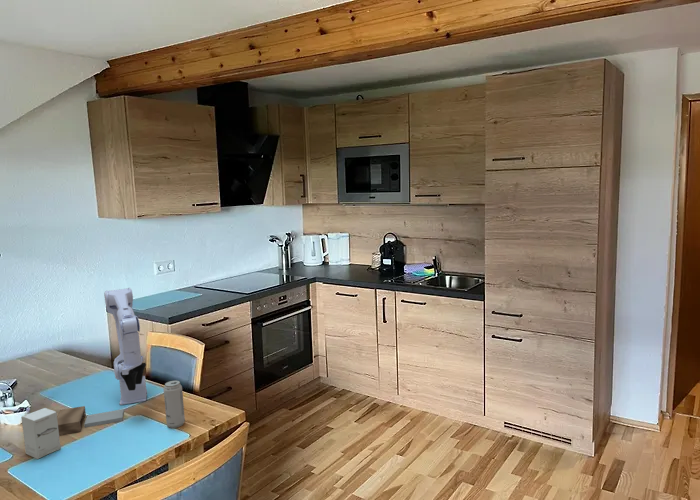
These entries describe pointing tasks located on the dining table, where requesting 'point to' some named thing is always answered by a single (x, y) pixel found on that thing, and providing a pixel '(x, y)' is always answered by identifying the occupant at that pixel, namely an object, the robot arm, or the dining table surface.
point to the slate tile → (104, 418)
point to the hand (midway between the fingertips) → (135, 386)
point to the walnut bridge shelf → (70, 420)
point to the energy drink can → (174, 404)
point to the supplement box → (41, 432)
